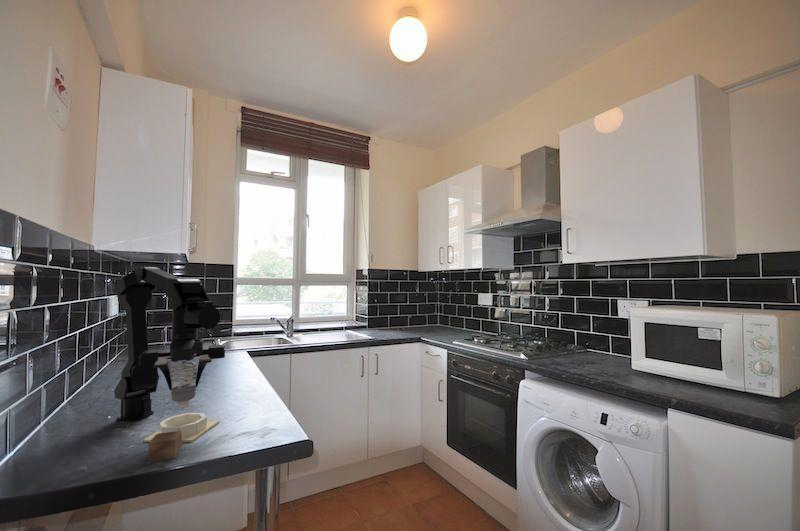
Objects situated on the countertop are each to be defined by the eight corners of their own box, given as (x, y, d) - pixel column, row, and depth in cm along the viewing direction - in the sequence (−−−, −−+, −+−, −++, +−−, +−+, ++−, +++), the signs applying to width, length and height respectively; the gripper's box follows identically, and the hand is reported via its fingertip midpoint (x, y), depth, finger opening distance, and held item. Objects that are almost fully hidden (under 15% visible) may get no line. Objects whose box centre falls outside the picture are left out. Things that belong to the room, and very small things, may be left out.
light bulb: (177, 404, 95) (178, 358, 95) (200, 404, 95) (200, 358, 96) (165, 412, 89) (166, 363, 90) (189, 411, 90) (190, 362, 90)
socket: (142, 441, 86) (143, 429, 86) (176, 422, 98) (176, 411, 98) (191, 442, 86) (191, 429, 86) (219, 422, 97) (219, 411, 98)
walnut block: (148, 462, 76) (148, 443, 77) (156, 451, 81) (156, 433, 81) (175, 458, 78) (175, 439, 78) (181, 448, 83) (181, 430, 83)
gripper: (134, 333, 82) (132, 403, 81) (225, 328, 90) (224, 391, 89) (143, 328, 92) (141, 390, 91) (224, 323, 100) (224, 380, 99)
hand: (183, 388), depth 92 cm, fingers closed on light bulb, 5 cm apart
